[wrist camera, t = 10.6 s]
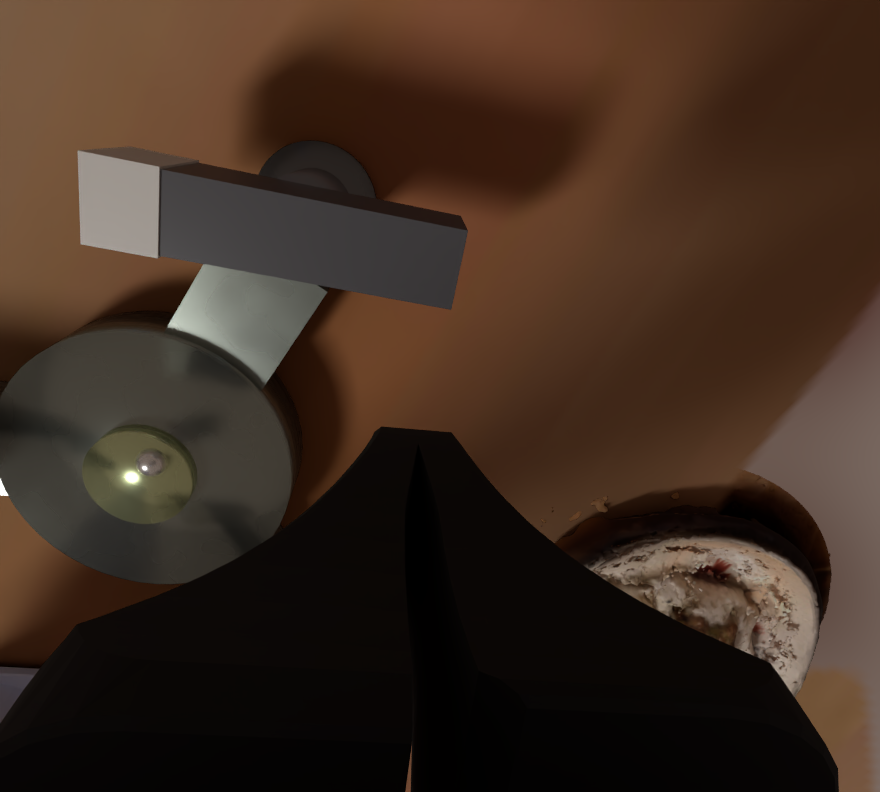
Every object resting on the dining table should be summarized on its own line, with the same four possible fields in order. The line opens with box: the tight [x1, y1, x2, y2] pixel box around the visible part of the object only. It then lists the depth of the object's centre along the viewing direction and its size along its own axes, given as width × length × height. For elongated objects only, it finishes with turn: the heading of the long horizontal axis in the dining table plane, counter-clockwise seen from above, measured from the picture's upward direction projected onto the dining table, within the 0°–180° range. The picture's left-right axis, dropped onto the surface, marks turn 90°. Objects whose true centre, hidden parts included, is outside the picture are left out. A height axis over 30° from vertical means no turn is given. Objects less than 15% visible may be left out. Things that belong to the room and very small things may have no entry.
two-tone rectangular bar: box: [78, 147, 468, 310], centre depth 16 cm, size 8×2×5 cm, turn 79°
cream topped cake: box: [541, 470, 832, 697], centre depth 24 cm, size 15×15×4 cm
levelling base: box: [0, 141, 376, 584], centre depth 20 cm, size 20×18×3 cm
